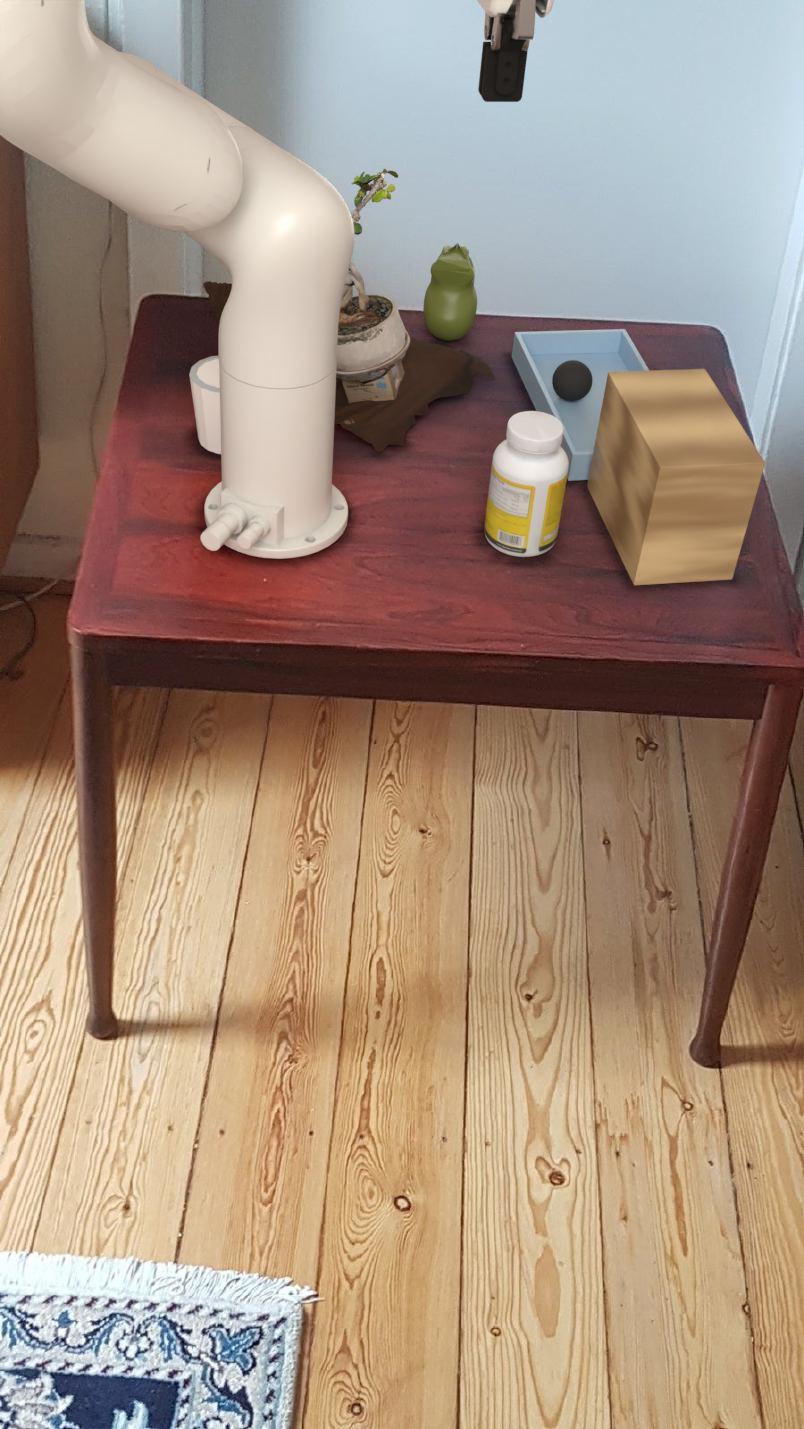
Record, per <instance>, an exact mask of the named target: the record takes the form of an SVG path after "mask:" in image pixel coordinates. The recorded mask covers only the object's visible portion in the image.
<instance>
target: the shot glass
mask: <svg viewBox="0 0 804 1429" xmlns="http://www.w3.org/2000/svg"><path fill="white" fill-rule="evenodd" d="M188 375H189V382H190V389H191V396H192V405H193V410H194V418H195V424H196V431H197V438H198V439H197V440H198V441H199V444H200V446H201V447H203V448H204V449H205V450H207V451H209V452H211V453H214V454H217V455H221V423H220V376H219V357H218V355H211V356H208V357H205V358H203V359H200V360H198V361H197V362H196V363H195V364H193V365H192V366H191V368H190V371H189V374H188Z"/></svg>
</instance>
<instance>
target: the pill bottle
mask: <svg viewBox="0 0 804 1429" xmlns="http://www.w3.org/2000/svg"><path fill="white" fill-rule="evenodd" d="M505 435H506V436H505V437H506V439H504V440H503V441H501V442H500V443H499V444H498V446H496V448H495V449H494V451H493V454H492V460H491V468H490V476H489V485H488V492H487V493H488V494H487V502H486V511H485V520H484V527H483V528H484V536H485V539H486V540H487V542H488V543H489V544H490V545H491V547H493V548H494V549H496V550H497V551H498V552H501V553H503V554H505V555H508V556H512V557H517V558H532V557H536V556H540V555H543V554H546V553H547V552H549V551H550V550H551V549H552V548H553V547H554V545H555V544H556V543H557V542H556V541H557V539H558V534H559V528H560V521H561V516H562V510H563V506H564V504H563V503H564V497H565V492H566V485H567V481H568V479H567V475H568V467H569V461H568V457H567V454H566V452H565V451H564V450H563V448H562V447H561V443H562V438H563V425H562V423H561V422H560V421H559V420H558V419H557V418H556V417H554V416H552V415H550V414H547V413H544V412H539V411H536V410H525V411H520V412H517V413H514V414H513V415H512V416H510V418H509V419H508V421H507V426H506V432H505Z"/></svg>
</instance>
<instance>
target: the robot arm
mask: <svg viewBox="0 0 804 1429" xmlns="http://www.w3.org/2000/svg"><path fill="white" fill-rule="evenodd" d="M476 1H477V2H478V4H479V5H480V7H481V8H482V9H483V11H484V12H485V13H484V25H483V26H484V28H483V34H484V35H483V38H484V41H483V42H482V51H481V58H480V69H479V80H478V88H477V90H478V93H479V95H480V97H481V99H482V100H483V101H484V102H485V103H519V102H520V101H521V100H522V98H523V93H524V92H523V91H524V85H525V84H524V83H525V77H526V75H525V74H526V67H527V59H528V52H529V46H530V42H531V41H532V40H533V39H534V36H535V26H536V25H535V24H536V15H537V16H538V17H539V18H541V19H543V18H545V17H547V16H548V15H549V14H550V13H551V12H552V10H553V6H554V0H476ZM0 136H1V137H2V138H4V140H6V141H8V142H9V143H10V144H12V145H13V146H14V147H16V148H18V149H20V150H21V151H23V152H25V153H27V154H28V155H30V156H32V157H34V158H35V159H37V160H39V161H41V162H42V163H44V164H45V165H47V166H49V167H51V168H53V169H54V170H56V171H58V172H60V173H61V174H62V175H64V176H66V177H67V178H69V179H70V180H71V181H74V182H76V183H78V184H79V185H81V186H83V187H85V188H86V189H88V190H90V191H92V192H94V193H96V194H97V195H99V196H101V197H103V198H104V199H106V200H108V201H109V202H111V203H112V204H114V205H115V206H116V207H117V208H119V209H120V210H122V211H124V212H125V213H126V214H128V215H130V216H131V217H133V218H134V219H135V218H136V219H137V220H138V221H140V222H142V223H144V224H148V225H151V226H153V227H155V228H158V229H162V230H167V231H172V232H181V233H184V234H185V235H187V236H188V237H189V238H190V239H192V240H193V241H195V242H196V243H197V244H199V245H200V246H201V247H202V248H204V249H205V250H206V251H207V252H209V253H210V254H212V256H214V258H216V259H217V260H218V261H219V262H220V263H221V264H223V265H224V266H225V267H226V268H227V269H228V271H229V273H230V276H231V284H232V288H231V292H230V295H229V298H228V300H227V303H226V305H225V307H224V309H223V312H222V315H221V318H220V324H219V323H218V333H217V334H218V338H217V339H218V342H217V344H218V345H217V350H218V352H217V353H218V355H217V356H218V357H219V376H220V423H221V454H220V460H221V461H220V463H221V464H220V465H221V469H220V470H221V481H220V482H218V483H217V484H216V485H215V486H214V487H212V489H211V490H210V491H209V493H208V494H207V496H206V498H205V501H204V506H203V507H204V508H203V510H204V511H203V512H204V514H203V516H204V522H205V526H206V528H205V529H204V530H203V531H202V533H201V534H200V535H199V536H200V542H201V544H202V546H203V547H205V549H206V550H209V551H211V552H217V551H218V550H220V548H222V547H223V546H226V547H227V548H230V549H231V550H234V551H236V552H238V553H241V554H244V555H247V556H251V557H257V558H261V559H275V560H283V559H284V560H285V559H295V558H301V557H306V556H309V555H312V554H315V553H318V552H320V551H322V550H325V549H326V548H328V547H330V546H331V545H333V544H334V543H335V542H336V541H338V540H339V538H340V537H341V536H343V534H344V532H345V530H346V528H347V526H348V520H349V506H348V502H347V500H346V497H345V496H344V494H343V493H342V492H341V490H339V488H338V487H336V485H334V484H333V465H334V464H333V463H334V443H335V442H334V441H335V424H334V419H335V394H336V370H337V340H338V324H339V314H340V307H341V300H342V295H343V290H344V285H345V281H346V278H347V274H348V271H349V266H350V262H351V261H352V259H353V253H354V246H355V234H354V225H353V222H354V220H353V218H352V216H351V210H350V209H349V206H348V205H347V203H346V201H345V199H344V197H343V196H342V195H341V193H340V192H339V190H338V189H337V188H336V187H335V186H334V185H333V183H331V182H330V181H329V180H328V179H327V178H326V177H325V176H324V175H322V174H321V173H320V172H318V171H317V170H316V169H315V168H313V167H311V165H309V164H307V163H306V162H304V161H303V160H301V159H299V158H298V157H296V156H295V155H293V154H292V153H290V152H289V151H287V150H286V149H283V148H282V147H280V146H278V145H277V144H275V143H274V142H272V141H271V140H269V139H268V138H267V137H265V136H263V135H262V134H260V133H259V132H257V131H255V129H253V128H251V127H250V126H248V125H247V124H245V123H243V122H242V121H240V120H239V119H237V118H235V117H234V116H232V115H231V114H229V113H228V112H226V111H224V110H223V109H221V108H219V107H218V106H217V105H215V104H213V103H212V102H210V101H209V100H208V99H206V98H204V97H203V96H202V95H199V94H198V93H196V92H195V91H193V89H191V88H189V87H187V86H186V85H185V84H183V83H182V82H179V81H178V80H176V79H175V78H174V77H172V76H171V75H170V74H167V73H166V72H165V71H164V70H161V69H160V68H159V67H158V66H155V65H154V64H152V63H151V62H150V61H148V60H147V59H144V58H143V57H140V56H138V55H136V54H133V53H129V52H124V51H118V50H117V49H115V48H114V47H112V46H111V45H109V44H107V43H106V42H105V41H103V40H102V39H100V38H98V37H97V36H95V34H94V33H93V32H92V30H91V28H90V24H89V22H88V16H87V11H86V0H0ZM351 263H352V262H351Z"/></svg>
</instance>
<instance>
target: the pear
mask: <svg viewBox="0 0 804 1429" xmlns="http://www.w3.org/2000/svg"><path fill="white" fill-rule="evenodd" d="M475 272H476V271H475V266H474V263H473V260H472V258H471V257H470V250H469V249H468V248H467V246H466V245H465V246H463V245H461V246H460V244H459V242H457V243H456V244H455V245H453V246H451V245H443V247H442V250H441V252H440V254H439V256H438V258H437V259H436V260H435V261H434V262H433V263H432V264H431V266H430V275H431V276H430V282H429V284H428V286H427V288H426V291H425V294H424V298H423V308H422V312H423V320H424V321H423V322H424V325H425V327H426V329H427V331H428V332H429V333H430V334H431V335H432V336H433V337H435V338H436V339H438V340H442V341H446V342H453V341H457V340H459V339H462V338H463V337H465V336H466V335H467V334H468V333H469V332H470V330H471V329H472V327H473V325H474V323H475V320H476V315H477V309H478V293H477V291H476V287H475V277H476V273H475Z"/></svg>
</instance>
